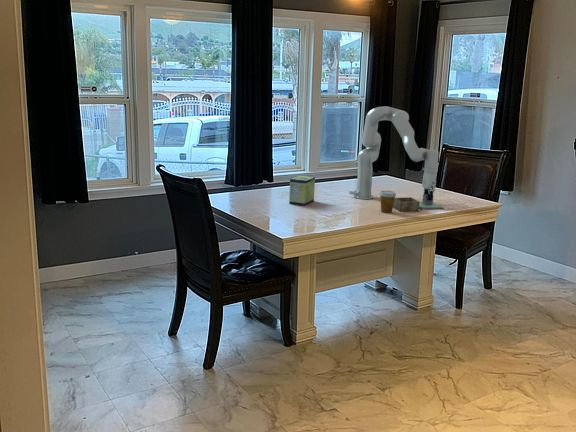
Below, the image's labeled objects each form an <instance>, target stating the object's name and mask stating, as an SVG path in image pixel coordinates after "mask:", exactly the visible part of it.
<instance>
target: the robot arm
mask: <svg viewBox="0 0 576 432" xmlns="http://www.w3.org/2000/svg"><path fill="white" fill-rule="evenodd" d="M409 120H410V116H409V113H408V112H407V111H405V110H401V109H398V108H395V107H391V106H378V107H375V108H372V109H370V110H369V111H368V112H367V113H366V116H365V120H364V126H363V132H362V137H361V144H362V145H363V146H364V147H365V148H364V149H362V150H361V149H360V150H359V152H358V154H357V157H356V159H357V180H356V189H354V190H353V191H351V190H350V191H349V192H348V194H349V195H353V197H354V198H355V199H359V200H371V199H374V195H373V194H372V185H373V184H372V183H373V163H374V162H375V161H377V160H378V158H379V154H380V149H381V143H382V137H381V134H380V133H379V132H378V128H379V122H382V121H390V122H392V124H393V126H394V127H395V130H397V132H398V133H399V136H400V138H401V140H402V144H403V147H404V150H405V151H406V153H407V155H408V157H409V159H410V160H412V161H413V162H415V163H417V162H420V161H424V170H423V176H422V183H421V186H422V187H423V194H428V197H427V200H433V201H434V193H435V192H436V186H437V173H438V163H439V151H438V150H437V149H427V148H424V147H420V148H419V146H418V144H417V142H416V140H415V130H414V128H413V127H412V125H411V123H410V121H409Z"/></svg>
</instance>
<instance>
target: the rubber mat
mask: <svg viewBox="0 0 576 432" xmlns="http://www.w3.org/2000/svg"><path fill="white" fill-rule="evenodd" d="M419 210H420V211H421V210H422V211H424V210H445V208H444V207H442V208H428V209H422V208H420V207H419Z"/></svg>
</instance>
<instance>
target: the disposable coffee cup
mask: <svg viewBox="0 0 576 432" xmlns="http://www.w3.org/2000/svg"><path fill="white" fill-rule="evenodd" d="M379 197H380V210H381V211H380V212H381V213H383V214H391V213H393V209H394V208H393V204H394V199H395V198H396V197H397V194H396V192H395V191H392V190H381V191H380V193H379Z"/></svg>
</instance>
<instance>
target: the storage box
mask: <svg viewBox="0 0 576 432" xmlns="http://www.w3.org/2000/svg"><path fill="white" fill-rule="evenodd" d="M420 202H421V201H419V200H417V199H415V198H414V197H411V196H409V197H408V196H407V197H406V196H405V197H395V199H394V204H393V209H394V210H395V211H397V210H398V211H397V212H399V213H412V212H413V213H417V212H420V209H419V203H420Z"/></svg>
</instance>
